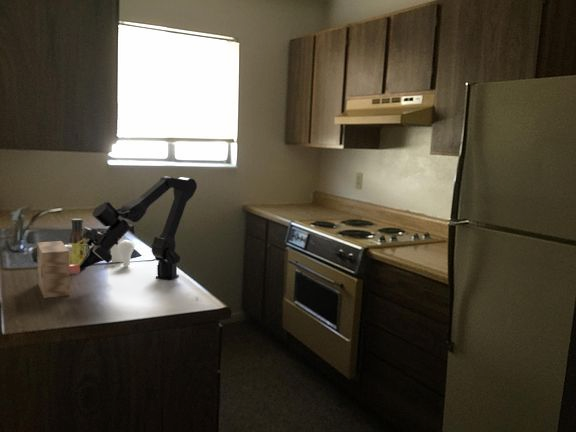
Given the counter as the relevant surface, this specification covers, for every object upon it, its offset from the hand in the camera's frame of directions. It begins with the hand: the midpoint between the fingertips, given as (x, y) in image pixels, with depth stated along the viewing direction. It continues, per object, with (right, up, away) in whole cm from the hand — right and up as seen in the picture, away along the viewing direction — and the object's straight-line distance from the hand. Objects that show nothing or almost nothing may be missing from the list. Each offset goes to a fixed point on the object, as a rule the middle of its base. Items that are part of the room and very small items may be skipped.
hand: (80, 268), depth 181 cm
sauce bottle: (-13, -3, +31) cm, 34 cm away
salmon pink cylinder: (-3, -2, -2) cm, 4 cm away
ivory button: (-10, +4, +8) cm, 13 cm away
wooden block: (-10, -7, +3) cm, 13 cm away
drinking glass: (-2, -2, +46) cm, 46 cm away
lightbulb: (+5, -3, +37) cm, 37 cm away
